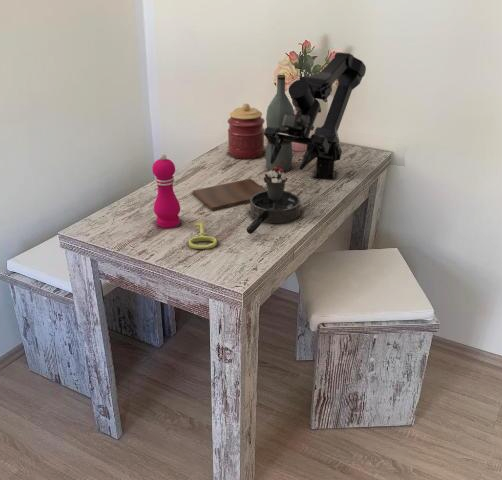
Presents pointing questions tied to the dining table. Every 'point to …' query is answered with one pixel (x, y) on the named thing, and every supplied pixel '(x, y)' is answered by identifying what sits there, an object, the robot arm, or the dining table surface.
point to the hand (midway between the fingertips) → (285, 166)
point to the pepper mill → (165, 193)
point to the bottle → (279, 126)
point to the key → (202, 238)
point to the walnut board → (228, 194)
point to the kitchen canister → (246, 133)
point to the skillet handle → (257, 222)
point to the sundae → (275, 185)
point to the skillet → (286, 203)
